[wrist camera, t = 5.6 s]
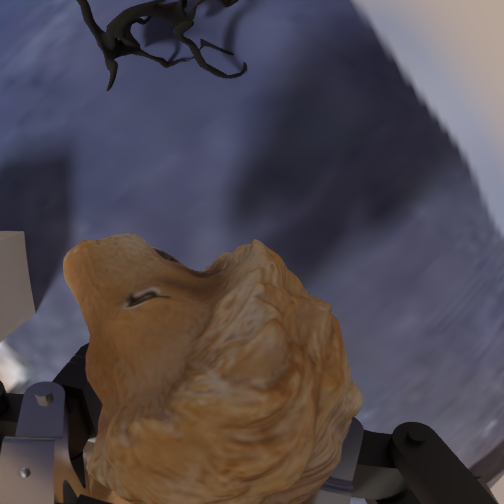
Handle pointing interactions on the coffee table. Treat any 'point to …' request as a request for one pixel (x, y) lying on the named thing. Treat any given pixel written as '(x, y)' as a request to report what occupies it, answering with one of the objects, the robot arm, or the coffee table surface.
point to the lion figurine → (209, 376)
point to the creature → (124, 21)
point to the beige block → (14, 283)
